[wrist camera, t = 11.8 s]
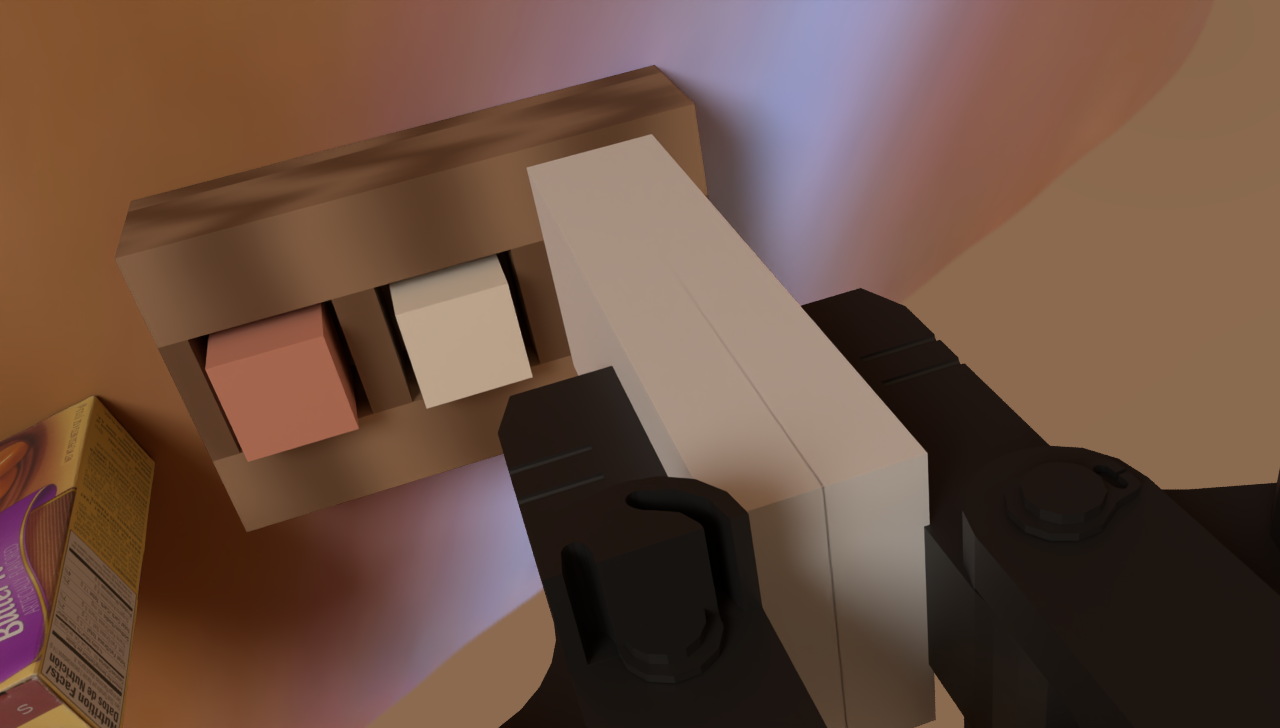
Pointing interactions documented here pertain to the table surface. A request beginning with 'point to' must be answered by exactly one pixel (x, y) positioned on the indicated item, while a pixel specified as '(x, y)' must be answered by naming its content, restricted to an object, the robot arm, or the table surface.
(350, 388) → the brick key
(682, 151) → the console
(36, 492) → the candy box
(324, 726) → the table surface
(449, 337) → the ivory key
